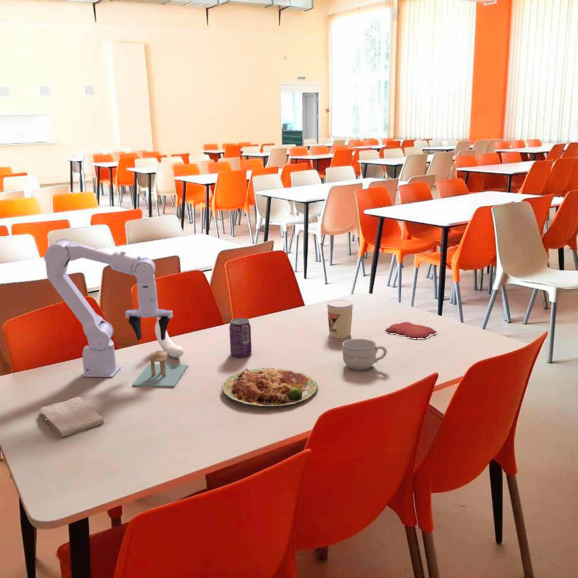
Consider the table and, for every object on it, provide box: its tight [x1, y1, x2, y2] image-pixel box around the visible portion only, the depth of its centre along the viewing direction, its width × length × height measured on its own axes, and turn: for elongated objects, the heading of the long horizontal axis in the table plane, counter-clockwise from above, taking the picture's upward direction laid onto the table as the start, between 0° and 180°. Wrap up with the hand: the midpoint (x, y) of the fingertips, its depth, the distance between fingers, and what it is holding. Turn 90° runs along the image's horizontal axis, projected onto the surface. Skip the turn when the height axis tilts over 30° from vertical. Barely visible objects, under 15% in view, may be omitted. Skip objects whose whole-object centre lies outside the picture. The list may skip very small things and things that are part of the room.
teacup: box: [341, 338, 388, 371], centre depth 195 cm, size 14×11×8 cm
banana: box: [154, 317, 185, 358], centre depth 207 cm, size 5×19×15 cm, turn 38°
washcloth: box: [39, 396, 105, 438], centre depth 166 cm, size 12×18×3 cm, turn 40°
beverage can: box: [228, 317, 252, 358], centre depth 207 cm, size 7×7×12 cm
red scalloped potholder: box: [384, 321, 437, 339], centre depth 227 cm, size 18×14×2 cm
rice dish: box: [221, 367, 318, 407], centre depth 181 cm, size 28×28×5 cm
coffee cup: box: [326, 299, 354, 339], centre depth 224 cm, size 9×9×12 cm
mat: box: [132, 363, 189, 388], centre depth 193 cm, size 13×16×1 cm
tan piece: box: [149, 350, 168, 377], centre depth 191 cm, size 5×5×7 cm
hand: (151, 338), depth 195 cm, fingers open, 7 cm apart
